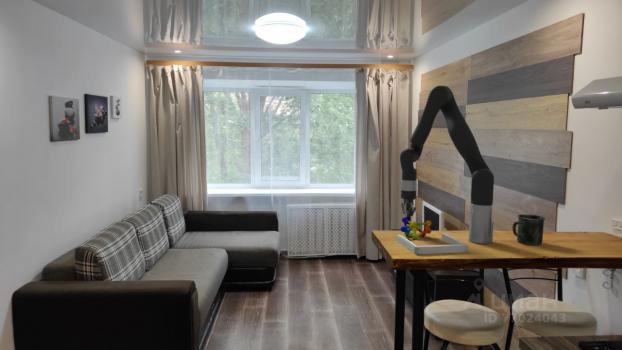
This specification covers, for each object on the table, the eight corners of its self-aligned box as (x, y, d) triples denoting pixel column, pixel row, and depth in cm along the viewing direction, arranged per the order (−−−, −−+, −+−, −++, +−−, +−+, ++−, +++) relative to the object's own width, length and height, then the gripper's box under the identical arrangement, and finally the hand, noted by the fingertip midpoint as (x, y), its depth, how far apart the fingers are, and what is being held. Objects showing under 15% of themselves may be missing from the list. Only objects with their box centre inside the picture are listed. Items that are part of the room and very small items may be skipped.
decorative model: (430, 233, 196) (398, 221, 201) (425, 249, 200) (393, 237, 205) (435, 220, 207) (405, 210, 212) (430, 236, 211) (400, 225, 216)
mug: (549, 245, 193) (551, 218, 192) (520, 247, 190) (522, 219, 189) (531, 239, 204) (533, 213, 203) (504, 240, 201) (505, 215, 199)
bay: (444, 239, 201) (444, 233, 201) (467, 252, 181) (468, 245, 180) (397, 241, 197) (397, 234, 197) (415, 254, 177) (415, 247, 177)
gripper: (421, 191, 207) (420, 226, 209) (410, 187, 220) (409, 220, 222) (406, 191, 206) (405, 227, 208) (396, 187, 219) (395, 221, 221)
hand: (407, 223), depth 215 cm, fingers closed
